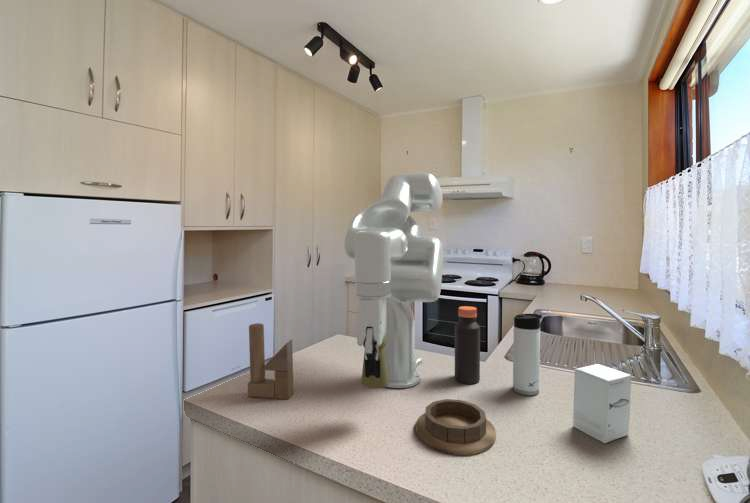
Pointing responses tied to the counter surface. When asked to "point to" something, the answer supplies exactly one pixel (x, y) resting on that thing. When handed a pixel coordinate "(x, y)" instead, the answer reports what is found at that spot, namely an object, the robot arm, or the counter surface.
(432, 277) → the robot arm
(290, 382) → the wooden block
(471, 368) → the bottle
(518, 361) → the travel mug
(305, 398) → the counter surface
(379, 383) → the olive knobbed pestle
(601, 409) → the supplement box
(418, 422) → the collar stand
